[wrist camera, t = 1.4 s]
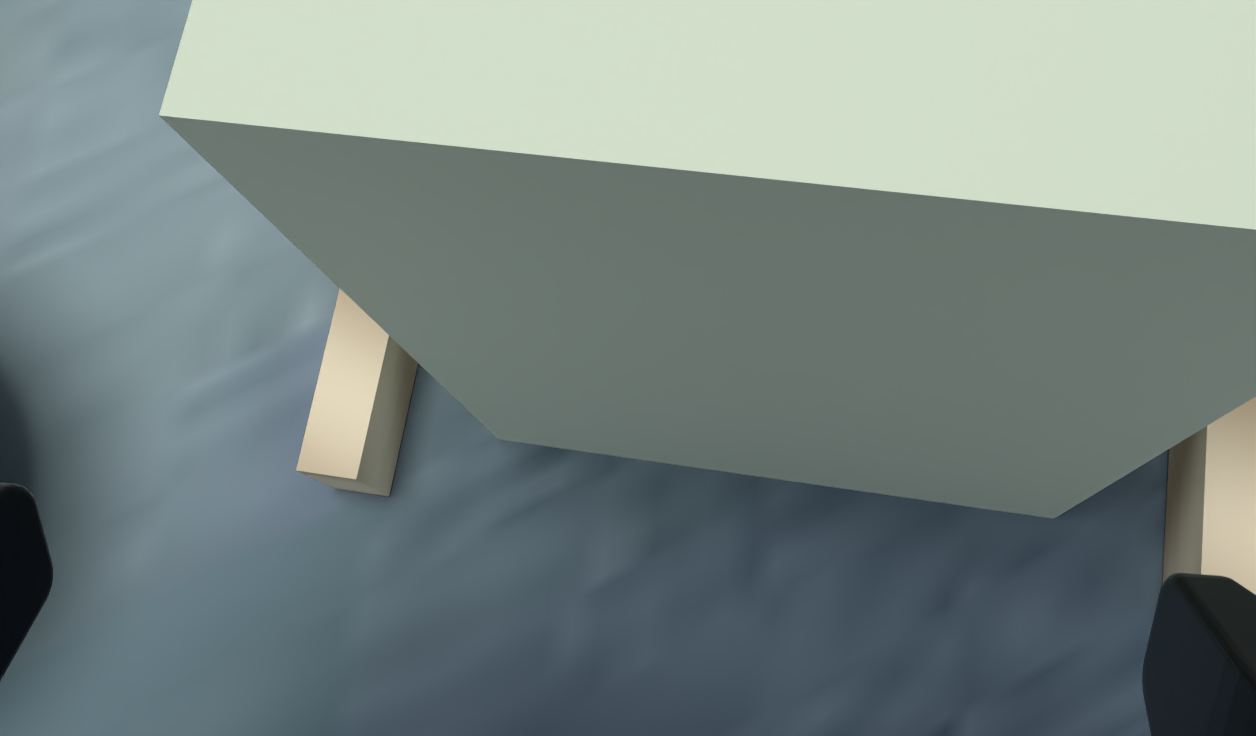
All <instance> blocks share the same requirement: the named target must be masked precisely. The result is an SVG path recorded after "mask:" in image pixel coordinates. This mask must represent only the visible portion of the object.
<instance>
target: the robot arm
mask: <svg viewBox="0 0 1256 736" xmlns="http://www.w3.org/2000/svg"><path fill="white" fill-rule="evenodd" d="M52 580H53V566H52V561H51V557H50V553H49V550H48V546H47V542H46V538H45V534H44V530H43V527H42V523H41V519H40V515H39V511H38V507H37V504H36V501H35V498H34V496H33V495H32V493H31V492H30V490H28V489H27V488H26V487H24V486H22V485H20V484H14V483H2V482H0V680H1V679H2V677H3V675H4V673H5V672H6V670H7V668H8V666H9V665H10V663H11V661H12V659H13V658H14V656H15V654H16V652H17V651H18V649H19V647H20V645H21V643H22V642H23V640H24V638H25V636H26V635H27V633H28V631H29V629H30V628H31V626H32V624H33V622H34V621H35V619H36V617H37V615H38V614H39V612H40V610H41V608H42V606H43V605H44V603H45V601H46V599H47V597H48V595H49V592H50V589H51V586H52ZM1142 683H1143V694H1144V700H1145V705H1146V710H1147V715H1148V721H1149V726H1150V731H1151V736H1256V595H1255V594H1254V593H1252V592H1251V591H1249V590H1248V589H1246V588H1245V587H1243V586H1242V585H1240V584H1239V583H1237V582H1236V581H1234V580H1233V579H1231V578H1228V577H1225V576H1218V575H1204V574H1191V573H1173V574H1172V575H1170V576H1169V577H1167V578H1166V580H1165V581H1164V583H1163V585H1162V587H1161V590H1160V594H1159V598H1158V602H1157V607H1156V611H1155V615H1154V619H1153V624H1152V628H1151V632H1150V637H1149V641H1148V645H1147V650H1146V654H1145V658H1144V664H1143V678H1142Z"/></svg>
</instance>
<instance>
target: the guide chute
mask: <svg viewBox="0 0 1256 736" xmlns="http://www.w3.org/2000/svg"><path fill="white" fill-rule="evenodd" d="M417 367H418V362H417V361H415V360H414V359H413V358H412V357H411V356H410V355H409V354H408V353H407V352H406V351H405V350H404V349H403V348H402V347H401V346H400V345H399V344H398V343H397V342H396V341H395V340H394V339H392V338H391V337H390V336H389V335H388V334H387V333H386V332H385V331H384V330H383V329H382V328H381V327H380V326H379V325H378V324H377V323H376V322H375V321H374V320H373V319H372V318H370V317H369V316H368V315H367V314H366V313H365V312H364V311H363V310H362V309H361V308H360V307H359V306H358V305H357V304H356V303H355V302H354V301H353V300H352V299H351V298H350V297H349V296H347V295H346V294H345V293H344V292H343V291H342V290H341V289H340V290H339V294H338V298H337V302H336V306H335V311H334V315H333V319H332V323H331V327H330V332H329V336H328V340H327V344H326V348H325V352H324V357H323V361H322V365H321V369H320V373H319V377H318V382H317V386H316V390H315V394H314V398H313V403H312V407H311V411H310V415H309V419H308V423H307V428H306V432H305V436H304V440H303V444H302V448H301V453H300V457H299V461H298V465H297V469H296V470H297V471H299V472H301V473H303V474H305V475H307V476H309V477H311V478H313V479H315V480H318V481H320V482H322V483H324V484H326V485H328V486H330V487H332V488H336V489H342V490H349V491H355V492H362V493H368V494H375V495H381V496H388V497H389V495H390V490H391V486H392V481H393V477H394V472H395V467H396V463H397V458H398V454H399V449H400V444H401V440H402V435H403V431H404V426H405V422H406V417H407V412H408V408H409V403H410V399H411V394H412V389H413V385H414V380H415V376H416V371H417ZM1173 573H1191V574H1204V575H1218V576H1225V577H1228V578H1231V579H1233V580H1234V581H1236V582H1237V583H1239V584H1240V585H1242V586H1243V587H1245V588H1246V589H1248V590H1249V591H1251V592H1252V593H1254V594H1255V595H1256V397H1254V398H1252V399H1251V400H1249V401H1247V402H1246V403H1244V404H1242V405H1241V406H1239V407H1237V408H1236V409H1234V410H1232V411H1231V412H1229V413H1228V414H1226V415H1224V416H1223V417H1221V418H1219V419H1218V420H1216V421H1214V422H1213V423H1211V424H1209V425H1208V426H1206V427H1204V428H1203V429H1201V430H1199V431H1198V432H1196V433H1195V434H1193V435H1191V436H1190V437H1188V438H1186V439H1185V440H1183V441H1181V442H1180V443H1178V444H1176V445H1175V446H1173V447H1171V448H1170V449H1169V462H1168V482H1167V502H1166V523H1165V543H1164V563H1163V583H1164V581H1165V580H1166V578H1167V577H1169V576H1170V575H1172V574H1173ZM1163 583H1162V585H1163Z"/></svg>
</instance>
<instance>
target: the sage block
mask: <svg viewBox="0 0 1256 736" xmlns="http://www.w3.org/2000/svg"><path fill="white" fill-rule="evenodd" d="M159 116H160V117H161V118H162V119H163V120H164V121H165V122H166V123H167V124H169V125H170V126H171V127H172V128H173V129H174V130H175V131H176V132H177V133H178V134H179V135H180V136H181V137H182V138H183V139H184V140H185V141H186V142H187V143H188V144H189V145H191V146H192V147H193V148H194V149H195V150H196V151H197V152H198V153H199V154H200V155H201V156H202V157H203V158H204V159H205V160H206V161H207V162H208V163H209V164H210V165H211V166H212V167H214V168H215V169H216V170H217V171H218V172H219V173H220V174H221V175H222V176H223V177H224V178H225V179H226V180H227V181H228V182H229V183H230V184H231V185H232V186H233V187H234V188H236V189H237V190H238V191H239V192H240V193H241V194H242V195H243V196H244V197H245V198H246V199H247V200H248V201H249V202H250V203H251V204H252V205H253V206H254V207H255V208H256V209H257V210H259V211H260V212H261V213H262V214H263V215H264V216H265V217H266V218H267V219H268V220H269V221H270V222H271V223H272V224H273V225H274V226H275V227H276V228H277V229H278V230H279V231H281V232H282V233H283V234H284V235H285V236H286V237H287V238H288V239H289V240H290V241H291V242H292V243H293V244H294V245H295V246H296V247H297V248H298V249H299V250H300V251H301V252H302V253H304V254H305V255H306V256H307V257H308V258H309V259H310V260H311V261H312V262H313V263H314V264H315V265H316V266H317V267H318V268H319V269H320V270H321V271H322V272H323V273H324V274H326V275H327V276H328V277H329V278H330V279H331V280H332V281H333V282H334V283H335V284H336V285H337V286H338V287H339V288H340V289H341V290H342V291H343V292H344V293H345V294H346V295H347V296H349V297H350V298H351V299H352V300H353V301H354V302H355V303H356V304H357V305H358V306H359V307H360V308H361V309H362V310H363V311H364V312H365V313H366V314H367V315H368V316H369V317H370V318H372V319H373V320H374V321H375V322H376V323H377V324H378V325H379V326H380V327H381V328H382V329H383V330H384V331H385V332H386V333H387V334H388V335H389V336H390V337H391V338H392V339H394V340H395V341H396V342H397V343H398V344H399V345H400V346H401V347H402V348H403V349H404V350H405V351H406V352H407V353H408V354H409V355H410V356H411V357H412V358H413V359H414V360H415V361H417V362H418V363H419V364H420V365H421V366H422V367H423V368H424V369H425V370H426V371H427V372H428V373H429V374H430V375H431V376H432V377H433V378H434V379H435V380H436V381H437V382H439V383H440V384H441V385H442V386H443V387H444V388H445V389H446V390H447V391H448V392H449V393H450V394H451V395H452V396H453V397H454V398H455V399H456V400H457V401H458V402H459V403H460V404H462V405H463V406H464V407H465V408H466V409H467V410H468V411H469V412H470V413H471V414H472V415H473V416H474V417H475V418H476V419H477V420H478V421H479V422H480V423H481V424H482V425H484V426H485V427H486V428H487V429H488V430H489V431H490V432H491V433H492V434H493V435H494V436H495V437H496V438H497V439H499V440H506V441H513V442H520V443H527V444H534V445H541V446H548V447H555V448H562V449H569V450H576V451H583V452H590V453H597V454H604V455H611V456H618V457H625V458H632V459H639V460H646V461H653V462H660V463H667V464H674V465H681V466H688V467H695V468H702V469H709V470H716V471H723V472H730V473H737V474H744V475H751V476H758V477H765V478H772V479H779V480H786V481H793V482H800V483H807V484H814V485H821V486H828V487H835V488H842V489H849V490H856V491H863V492H870V493H877V494H884V495H891V496H898V497H905V498H912V499H919V500H926V501H933V502H940V503H947V504H954V505H961V506H968V507H975V508H982V509H989V510H996V511H1003V512H1010V513H1017V514H1024V515H1031V516H1038V517H1045V518H1052V519H1054V518H1056V517H1057V516H1059V515H1061V514H1062V513H1064V512H1066V511H1067V510H1069V509H1071V508H1072V507H1074V506H1076V505H1077V504H1079V503H1081V502H1082V501H1084V500H1086V499H1087V498H1089V497H1090V496H1092V495H1094V494H1095V493H1097V492H1099V491H1100V490H1102V489H1104V488H1105V487H1107V486H1109V485H1110V484H1112V483H1114V482H1115V481H1117V480H1119V479H1120V478H1122V477H1124V476H1125V475H1127V474H1128V473H1130V472H1132V471H1133V470H1135V469H1137V468H1138V467H1140V466H1142V465H1143V464H1145V463H1147V462H1148V461H1150V460H1152V459H1153V458H1155V457H1157V456H1158V455H1160V454H1161V453H1163V452H1165V451H1166V450H1168V449H1170V448H1171V447H1173V446H1175V445H1176V444H1178V443H1180V442H1181V441H1183V440H1185V439H1186V438H1188V437H1190V436H1191V435H1193V434H1195V433H1196V432H1198V431H1199V430H1201V429H1203V428H1204V427H1206V426H1208V425H1209V424H1211V423H1213V422H1214V421H1216V420H1218V419H1219V418H1221V417H1223V416H1224V415H1226V414H1228V413H1229V412H1231V411H1232V410H1234V409H1236V408H1237V407H1239V406H1241V405H1242V404H1244V403H1246V402H1247V401H1249V400H1251V399H1252V398H1254V397H1256V0H193V1H192V4H191V7H190V11H189V14H188V18H187V21H186V25H185V28H184V31H183V35H182V38H181V42H180V45H179V49H178V52H177V55H176V59H175V62H174V66H173V69H172V73H171V76H170V79H169V83H168V86H167V90H166V93H165V97H164V100H163V103H162V107H161V110H160V114H159Z"/></svg>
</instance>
